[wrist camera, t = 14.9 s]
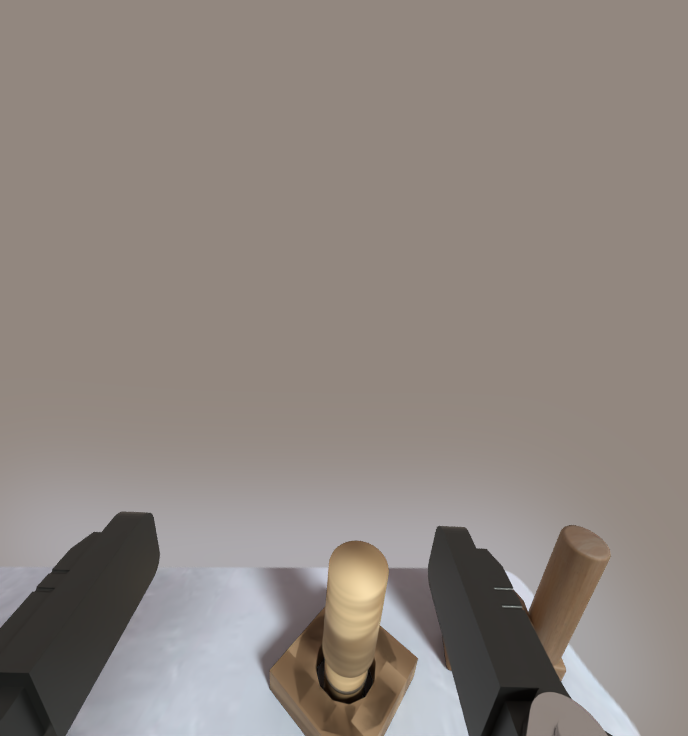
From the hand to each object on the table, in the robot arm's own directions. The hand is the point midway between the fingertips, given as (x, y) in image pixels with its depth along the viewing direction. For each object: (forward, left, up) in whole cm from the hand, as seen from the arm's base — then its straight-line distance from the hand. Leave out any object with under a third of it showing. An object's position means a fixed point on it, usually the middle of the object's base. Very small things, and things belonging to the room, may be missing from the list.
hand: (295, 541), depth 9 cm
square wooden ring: (+12, +5, -32) cm, 34 cm away
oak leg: (+11, +5, -32) cm, 34 cm away
